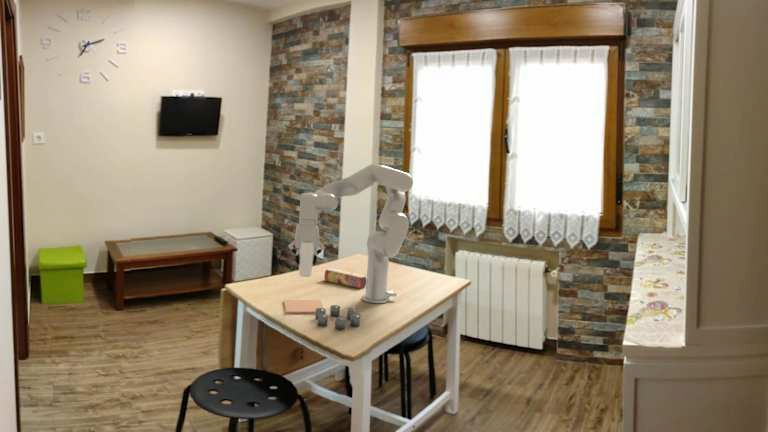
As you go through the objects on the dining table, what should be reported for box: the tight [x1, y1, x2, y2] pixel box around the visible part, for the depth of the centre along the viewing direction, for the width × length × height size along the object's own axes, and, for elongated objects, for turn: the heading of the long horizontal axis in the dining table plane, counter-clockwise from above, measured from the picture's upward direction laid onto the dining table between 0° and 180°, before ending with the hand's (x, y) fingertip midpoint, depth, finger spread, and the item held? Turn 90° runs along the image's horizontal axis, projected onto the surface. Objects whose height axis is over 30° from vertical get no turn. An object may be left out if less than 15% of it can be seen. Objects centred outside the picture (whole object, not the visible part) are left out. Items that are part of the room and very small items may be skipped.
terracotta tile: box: [283, 299, 324, 315], centre depth 258 cm, size 16×16×1 cm
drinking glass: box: [298, 242, 314, 278], centre depth 255 cm, size 7×7×15 cm
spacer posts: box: [314, 304, 361, 331], centre depth 243 cm, size 17×19×4 cm
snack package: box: [323, 267, 367, 290], centre depth 299 cm, size 21×7×7 cm, turn 64°
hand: (305, 263), depth 255 cm, fingers closed on drinking glass, 6 cm apart
